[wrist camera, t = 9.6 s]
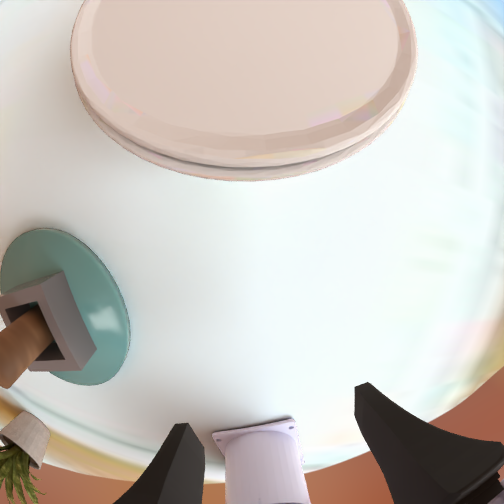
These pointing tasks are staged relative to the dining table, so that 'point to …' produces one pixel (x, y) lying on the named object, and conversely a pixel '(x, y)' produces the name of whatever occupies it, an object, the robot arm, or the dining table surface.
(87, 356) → the candle dish
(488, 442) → the robot arm
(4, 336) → the walnut peg
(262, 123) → the coffee cup
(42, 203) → the dining table surface
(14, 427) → the house plant
